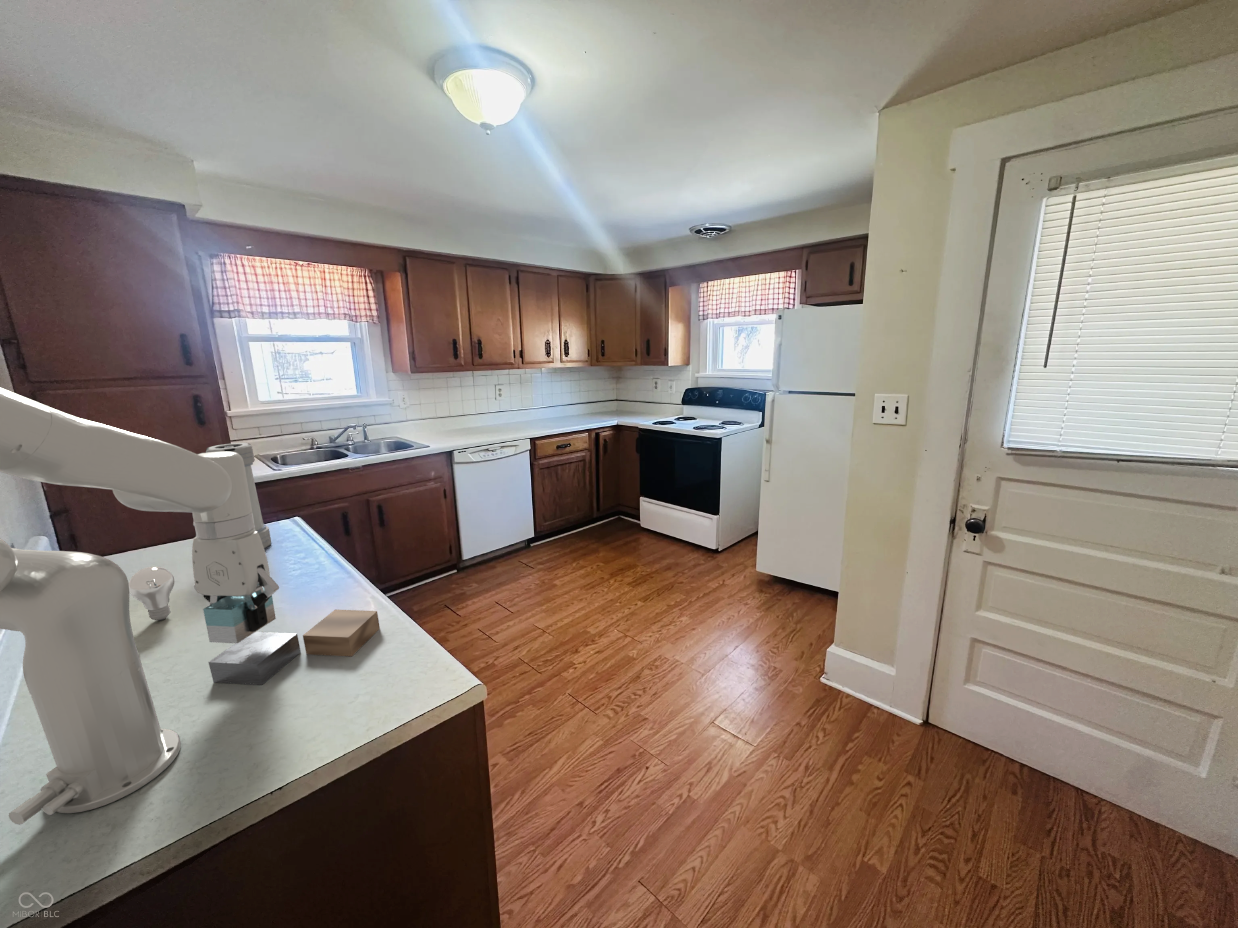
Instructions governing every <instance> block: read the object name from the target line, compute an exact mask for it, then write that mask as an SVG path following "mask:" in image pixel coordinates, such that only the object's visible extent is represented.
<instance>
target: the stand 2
mask: <svg viewBox="0 0 1238 928" xmlns="http://www.w3.org/2000/svg"><path fill="white" fill-rule="evenodd" d="M380 627H381V626H380V620H379V615H378V610H364V609H362V610H361V609H360V610H359V609H358V610H357V609H334V610H333V611H331V612H330V613H329V614H328V615H326V616H325V617H323V618H322V619H321V620H320V621H318V623H317V624H315V625H314V626H313V627H312V628H310V629H309V630H307V631H306V632H305V633H304V634H303V635H302V640H303V644H304V648H305V654H306V655H312V656H313V655H314V656H330V657H331V656H332V657H333V656H334V657H336V656H337V657H350V658H351V657H353V656H354V655H356V653H357V652H358V651H359V650H360V649H361V648H362V647H363V646H364V645H366V643H367V642H369V640H370V639H371V638H372V637H373V636H374V635H375V634H376V633H377V632H378V631H380V629H381V628H380Z"/></svg>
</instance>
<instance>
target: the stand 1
mask: <svg viewBox="0 0 1238 928" xmlns="http://www.w3.org/2000/svg"><path fill="white" fill-rule="evenodd" d="M298 636H299V635H298V633H294V632H293V633H292V632H272V631H271V632H270V631H256V632H254V633H253V634H251V635H250V636H248V637H247V638H245V639H244V640H242V641H240V642H239V643H233V644H232V645H230V646H229V647H228V648H227V649H225V650H224V651H222V652H221V653H219V654H218V655H216V656H215V657H214V658H212V659H211V660H209V661H208V666H209V670H210V673H211V677H212V682H213V683H216V684H217V683H218V684H237V685H253V686H256V685H257V686H263V685H264V684H266V683H267V682H268V681H269V680H270V679H271V678H272V677H274V675H276V674H277V673H278V672H280V671H281V670H282V669H284V667H285V666H287V664H289V663H290V662H291V661H292V660H294V659H295V658H296V657H297V656H298V655H300V654H301V653H302V650H301V646H300V641H299V637H298Z"/></svg>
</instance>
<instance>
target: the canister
mask: <svg viewBox="0 0 1238 928" xmlns="http://www.w3.org/2000/svg"><path fill="white" fill-rule="evenodd" d="M226 451H227V452H236V453H238V454H239V455H241V457H242V458H243V461H244V466H245V472H246V478H247V484H248V490H249V496H250V502H251V508H252V514H253V520H254V526H255V531H257V532H258V534H259V536H260V539H261V541H262V544H263V547H264V549H266V548H268V547H269V546H270V545H271V544H272V538H271V533H270V528H269V526H267V525H266V524H265V523H264V520H263V516H262V515H263V514H262V512H261V507H260V503H259V498H258V497H259V495H258V493H257V488H256V484H255V478H254V474H253V469H252V465H254V462H256V460H255V454H254V449H253V446H252V445H251V443H249V442H234V443H225V444H218V445H213V446H209V447H207V448H206V451H205V453H209V452H226Z"/></svg>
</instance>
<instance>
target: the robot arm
mask: <svg viewBox="0 0 1238 928" xmlns="http://www.w3.org/2000/svg"><path fill="white" fill-rule="evenodd" d="M0 473H2V474H5V475H9V476H12V477H17V478H21V479H25V480H29V481H34V482H40V483H47V484H52V485H59V486H69V487H84V488H92V489H93V488H94V489H102V490H111V491H112V493H113V495H114V497H115V498H116V499H117V501H118V502H119V503H121V504H122V505H124V506H125V507H127V508H130V509H134V510H137V511H143V512H161V513H162V512H165V513H167V512H169V513H171V512H173V513H192V518H193V523H192V525H193V527H194V529H195V537H193V540H192V550H191V555H192V556H191V558H192V561H191V563H192V572H193V580H194V585H193V588H194V590H195V591H196V592H197V593H198V594H201V595H202V597H203V598H204V599H205V600H206V601H208V602H209V605H211V604H213V603H215V602H217V601H219V600H221V599H223V598H225V597H227V596H234V597H244V599H245V601H246V603H247V605H248V607H249V609H248V610H247V611H246V614H247V620H248V626H249V630H250V632H255V631H256V630H258V629H259V628H261V627H262V626H264V625H265V626H267V625H268V624H267V622H268V620H267V614H266V608H265V603H267V602H268V599H269V598H270V597H271V596H272V597H273V595H275V593H277V592H278V590H279V589H280V585H278V583H277V582H276V581H275V580H274V579H273V578H272V577H271V573H270V572H271V571H270V567H269V561H268V557H267V554H266V550H265V548H264V547H263V544H262V541H261V539H260V536H259V534H258V532H257V531H255V526H254V520H253V514H252V508H251V502H250V496H249V490H248V484H247V478H246V472H245V466H244V461H243V458H242V457H241V455H239V454H238V453H236V452H227V451H226V452H209V453H206V452H201V453H195V452H192V451H191V450H188V449H185V448H183V447H180V446H178V445H176V444H172V443H169V442H166V441H163V440H160V439H155V438H152V437H148V436H146V435H142V434H138V433H134V432H130V431H127V430H124V429H120V428H117V427H114V426H111V425H106V424H104V423H102V422H101V423H100V422H96V421H92V420H88V419H85V418H82V417H81V418H80V417H78V416H75V415H72V414H69V413H66V412H64V411H61V410H59V409H55V408H53V407H50V406H49V405H46V404H43V403H40V402H39V401H36V400H33V399H31V398H28V397H26V396H23V395H20V394H18V393H16V392H12V391H10V390H8V389H5V388H3V387H0ZM263 588H264V589H263ZM253 593H256V595H257V598H256V599H254V597H253V595H252V594H253ZM130 615H131V614H130V592H129V580H128V576H127V574H126V573H125V571H124V570H123V569H122V568H121V566H120V565H118V564H117V563H115V562H114V561H112V560H111V559H109V558H106V557H104V556H101V555H98V554H93V553H88V552H81V551H65V550H38V549H37V550H35V549H21V548H15V547H11V546H10V545H9V544H8V543H7V542H6V541H4V540H3V539H2V538H1V537H0V630H7V631H13V632H20V633H22V635H23V637H24V641H25V642H24V643H25V646H24V653H23V657H22V673H23V678H24V681H25V684H26V687H27V690H28V693H29V695H30V696H31V699H32V702H33V705H34V708H35V710H36V713H37V715H38V718H39V721H40V725H41V728H42V729H43V730H42V731H43V732H44V736H45V738H46V741H47V744H48V745H49V749H50V752H51V754H52V756H53V759H54V763H55V767H54V768H52V769H50V770H49V771H48V772H47V773H46V774H45V775H46V778H47V780H48V782H47V783H46V784H44V785H43V786H41V788H40V791H39V792H38V793H36V794H35V795H33V796H32V797H30V798H29V799H27V800H25V801H24V802H23V803H22V804H20V805H18V806H17V807H16V808H14V809H13V810H11V812H9V813H8V819H9V821H11V822H12V823H14V824H15V825H20V826H21V825H23V824H24V823H26V822H27V821H29V820H30V819H31V818H32V817H33V816H35V815H37V814H38V813H40V811H43V812H44V813H45V814H46V815H49V816H51V815H54V813H60V814H74V813H81V812H82V813H83V812H86V811H90V810H94V809H98V808H100V807H103V806H106V805H109V804H111V803H114V802H115V801H116V802H117V800H118V801H119V800H120V799H123V798H124V797H126V796H128V795H130V794H132V793H134V792H135V791H137V790H139V789H141V788H142V787H143V786H145V785H147V784H148V783H150V782H152V781H153V780H154V779H155V778H156V777H158V776H159V775H160V774H161V773H163V772H164V771H165V770H167V768H168V767H169V766H170V765H171V764H172V763H173V761H174V760H175V758H176V757H177V756H178V755H179V752H180V750H181V746H182V743H181V742H182V741H181V738H180V735H179V734H178V732H176V731H174V730H173V729H168V728H161V725H160V722H159V719H158V715H157V712H156V708H155V705H154V701H153V698H152V695H151V694H152V693H151V690H150V688H149V685H148V681H147V678H146V675H145V674H146V673H145V671H144V668H143V664H142V660H141V658H140V657H141V656H140V654H139V652H138V648H137V644H136V641H135V637H134V633H133V628H132V623H131V616H130ZM266 624H267V625H266ZM265 626H264V627H265ZM262 628H263V627H262ZM262 628H261V629H262ZM259 630H260V629H259ZM259 630H258V631H259ZM256 632H257V631H256Z"/></svg>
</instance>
